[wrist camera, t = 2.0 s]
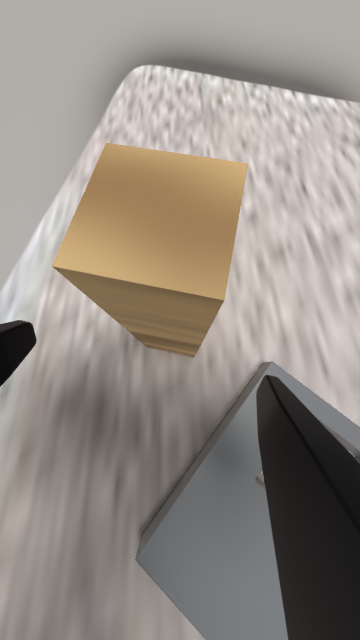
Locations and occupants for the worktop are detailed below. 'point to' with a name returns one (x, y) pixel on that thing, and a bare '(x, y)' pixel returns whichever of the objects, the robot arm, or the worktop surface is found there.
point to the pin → (156, 242)
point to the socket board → (229, 525)
